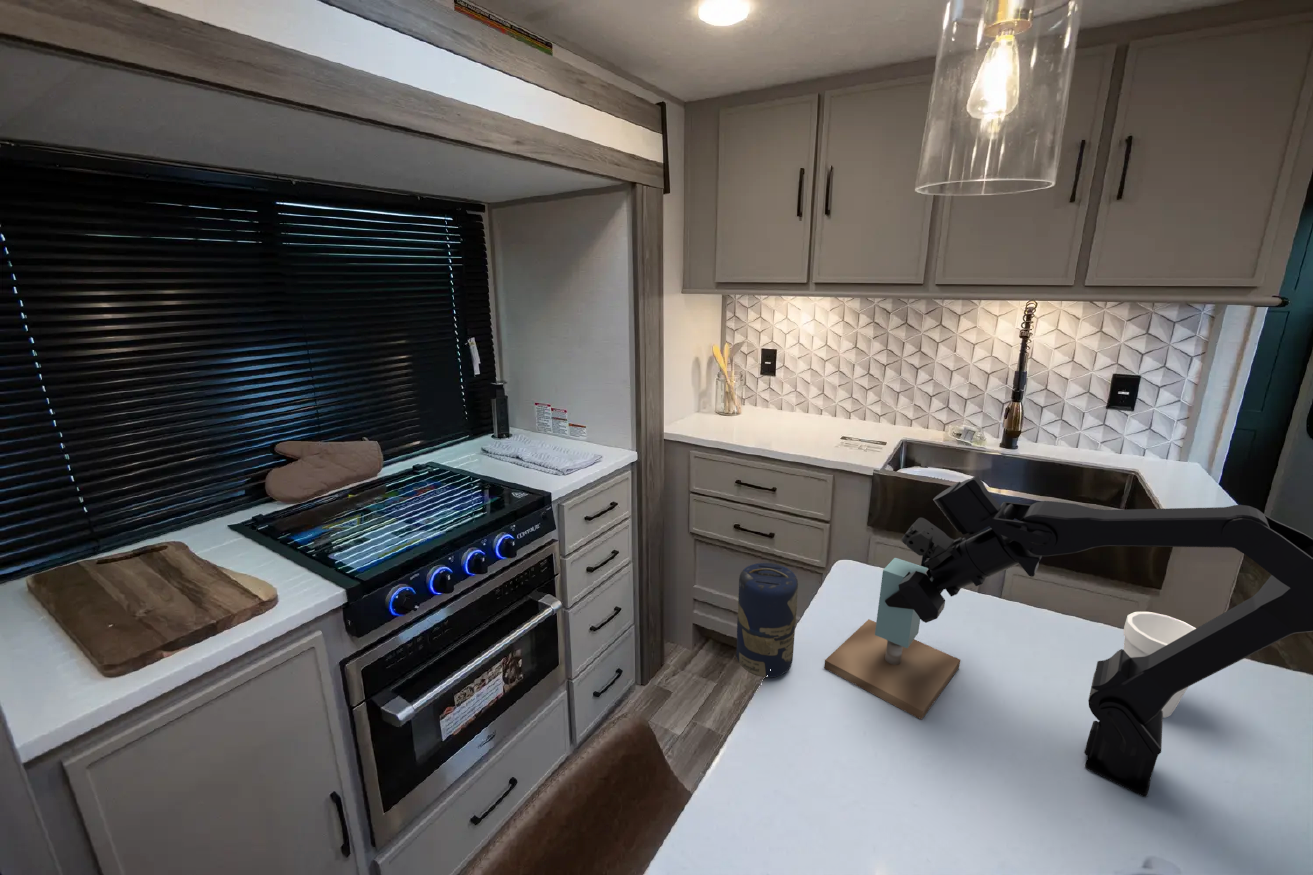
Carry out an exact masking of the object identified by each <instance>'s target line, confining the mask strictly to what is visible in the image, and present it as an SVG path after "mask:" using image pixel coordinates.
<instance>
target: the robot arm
mask: <svg viewBox="0 0 1313 875" xmlns="http://www.w3.org/2000/svg"><path fill="white" fill-rule="evenodd" d="M932 500H933V501H934V503H935V504H936V505H937V507H938V508H939V509H940V511H941V512H942V513H943V515H944V516H945V517H946V518H947V520H948V521H949V522H950V524H951V525H952V527H953V528H954V529H955V530H956V531H957V532H958V533H961V534H962V536H963V535H967V534H968V536H969V535H970V536H971V535H974V534H976V533H978V534H976V535H974V536H971V537H970V538H967V539H966V537H963V538H962V537H957V538H956V539H954V538H951V537H950V536H949V535H947V534H946V533H945V532H944V531H943V530H941V528H939V527H937V526H936V525H934V524H933V523H932V522H930V521H929V520H928V519H926V518H925V517H918V518H917V519H916V520H915V522H913V523H912V524H911V525H910V527H909V528H908V530H907V531H906V532H905V533H904V535H903V536H902V537H901V541H902V543H903V544H904V545H905V546H906V547H907V548H908V549H909V550H911V551H912V552H914V553H915V554H917V556H919V557H921V564H920V566H923V567H926V568H928V569H927V571H926V572H925V574H924V573H921V572H918V571H915V572H913V573H910V572H908V573H907V575H906V576H905V577H904V578H903V580H902V581H901V582H900V584H899V585H898V586H899V590H898V591H896V592H895V593H894V594H892V595H891V596H890V597H888V598H887V599H886V600H885V603H886V604H887V605H888V606H889V607H896V608H905V609H912V610H914V611H915V612H916V613H917V615H918V616H919V617H920V621H921V622H924V623H926V624H927V623H930V622H931V621H935V620H938V618H939V616H940V615H941V614H942V612H943V610H944V609H945V605H946V599H945V597H943V595H942V593H943V591H944V590H945V591H946V592H947V593H948V595H949V596H950V597H954V596H957V595H958V594H959V593H960V591H961V589H963V588H965V587H967V586H970V585H972V584H973V585H974V586H975V587H979V586H980V585H982V584H984V582H985V580H986V579H987V578H990V577H992V576H994V575H996V574H999V573H1001V572H1004V571H1006V570H1008V569H1010V568H1013V567H1015V566H1017V565H1020V567H1021V568H1022V570H1023V571H1024V572H1025V573H1026V574H1027V575H1028V577H1030V578H1031V577H1032V578H1033V577H1034V576H1035V575H1036V573H1037V571H1038V569H1039V566H1040V565H1039V564H1040V563H1039V562H1040V561H1041V559H1042V558H1043V557H1054V556H1063V555H1064V556H1065V555H1071V554H1076V553H1077V554H1078V553H1081V552H1084V551H1085V552H1086V551H1088V550H1090V549H1095V548H1096V549H1097V548H1102V547H1103V548H1104V547H1150V548H1153V547H1157V548H1158V547H1159V548H1160V547H1163V548H1167V547H1171V548H1232V549H1235V550H1237V551H1239V552H1240V553H1242V555H1243V554H1244V556H1247V557H1248V558H1250V559H1251V561H1253V562H1254V563H1256V564H1257V565H1259V567H1261V568H1262V569H1263V570H1265V571H1266V572H1267V573H1268V574H1270V576H1269V577H1268V579H1267V580H1266V581H1265V582H1264V584H1263V585H1262V586H1261V587H1260V589H1259V590H1258V591H1257V592H1256V593H1255V594H1254V595H1252V596H1251V597H1249V598H1248V599H1246V600H1244V601H1242V602H1240V603H1238V604H1237V605H1235V606H1234V607H1232V608H1230V609H1228V610H1226V611H1225V612H1223V613H1221V614H1219V615H1218V616H1216V617H1214V618H1213V619H1211V620H1209V621H1206V622H1205V623H1203V624H1202V625H1200V626H1198V627H1197V628H1196V627H1195V628H1196V629H1194V630H1193V631H1191V632H1189V633H1187V634H1186V635H1184V636H1182V637H1180V638H1178V639H1177V640H1175V641H1173V642H1171V643H1170V644H1168V645H1166V646H1164V647H1163V648H1161V649H1159V650H1157V651H1155V652H1154V653H1152V654H1150V655H1148V656H1145V657H1132V658H1130V657H1129V655H1128V654H1127V653H1126V652H1125V651H1124V650H1123V649H1124V648H1121V649H1118V650H1117V651H1116V652H1115V653H1114V654H1113V655H1112V656H1110V657H1109V658H1106V659H1104V660H1097V661H1096V662H1097V663H1096V667H1095V671H1094V673H1093V677H1092V682H1091V686H1090V691H1089V696H1088V699H1087V700H1088V708H1089V710H1090V712H1091V714H1092V715H1093V716H1094V717H1095V718H1096V719H1097V720H1093V722H1092V725H1091V727H1090V730H1089V734H1088V736H1087V741H1086V743H1085V744H1086V745H1085V749H1084V752H1083V753H1084V755H1085V756H1087V757H1086V760H1085V765H1084V768H1086V769H1087V770H1088V771H1091V772H1093V773H1094V774H1097V775H1098V776H1101V777H1103V778H1105V779H1107V780H1109V781H1112V782H1113V783H1115V784H1117V785H1119V786H1120V787H1123V788H1125V789H1127V790H1129V791H1131V792H1132V793H1135V794H1137V795H1139V796H1141V797H1144V798H1147V797H1148V795H1149V789H1150V785H1151V779H1152V775H1153V772H1154V768H1155V766H1156V762H1157V760H1158V757H1159V755H1160V754H1161V753H1162V749H1163V748H1162V745H1163V740H1162V739H1163V719H1164V717H1163V711H1162V709H1163V707H1164V706H1165V705H1166V704H1167V702H1168V701H1169V700H1170V699H1171V697H1172V696H1173V695H1174V694H1175V693H1177V692H1179V691H1181V690H1183V689H1185V688H1187V687H1188V688H1189V687H1190V686H1193V685H1194V684H1197V683H1199V682H1200V681H1202V680H1204V679H1206V678H1208V677H1211V676H1213V675H1214V674H1217V673H1218V672H1220V671H1222V670H1224V669H1226V668H1228V667H1230V666H1232V665H1234V664H1236V663H1238V662H1241V661H1242V660H1244V659H1246V658H1248V657H1250V656H1252V655H1254V654H1256V653H1258V652H1260V651H1262V650H1264V649H1266V648H1268V647H1270V646H1272V645H1274V644H1276V643H1278V642H1279V641H1282V640H1283V639H1285V638H1287V637H1289V636H1293V635H1295V634H1300V633H1301V634H1302V633H1312V632H1313V537H1311V536H1310V535H1308V534H1306V533H1304V532H1302V531H1300V530H1298V529H1296V528H1294V527H1291V526H1288V525H1287V524H1285V523H1282V522H1280V521H1278V520H1276V519H1273V518H1272V517H1270V516H1269V515H1266V514H1264V512H1262V511H1261V510H1260V509H1258V508H1255V507H1253V506H1250V505H1244V504H1234V505H1230V506H1223V507H1222V506H1220V507H1185V508H1184V507H1182V508H1181V507H1180V508H1177V507H1176V508H1134V509H1101V508H1100V509H1099V508H1093V507H1087V506H1084V505H1081V504H1076V503H1071V502H1061V501H1051V500H1041V501H1037V502H1034V503H1032V504H1031V503H1028V504H1027V503H1023V502H1022V503H1019V502H1012V501H1003V502H1002V503H1001V504H1000V503H998V502H997V500H996V499H995V498H994V497H993V495H992V494H991V493H990V492H989V490H988V489H987V488H986V486H985V484H984V482H983V481H982V480H981V478H980V477H979V476H977V475H975V476H973V477H971V478H968V479H965V480H964V481H958V482H955V483H954V484H953V485H951V486H949V487H948V488H946V489H945V490H943V491H941V492H940V493H938V494H937V495H936V496H935V497H934V498H933V499H932ZM988 527H990V528H989V529H987V530H985V529H986V528H988ZM982 530H984V531H982ZM981 531H982V532H981ZM1188 688H1187V689H1188Z"/></svg>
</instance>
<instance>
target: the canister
mask: <svg viewBox="0 0 1313 875" xmlns="http://www.w3.org/2000/svg"><path fill="white" fill-rule="evenodd" d="M798 591H799V582H798V578H797V576H796V575H795V573H794V572H793V571H792V570H791V569H789V568H788V567H786V566H784V565H781V564H779V563H778V564H777V563H772V562H758V563H754V564H750V565H748V566H746V567H745V568H744V569H743V570H741V572H740V574H739V577H738V598H737V599H738V600H737V601H738V602H737V603H738V604H737V618H736V619H737V620H736V623H737V624H736V651H735V652H736V659H737V661H738V663H739V665H740V666H741V668H742V669H744V670H745V671H746V672H748V673H750V674H752V675H753V676H757V677H761V678H775V677H779V676H781V675H784V674H785V673H787V671H789V670H790V669H791V667H792V665H793V660H794V649H795V648H794V647H795V634H796V633H795V632H796V624H797V609H798V594H799V592H798ZM770 669H771V671H770ZM767 675H768V677H766V676H767Z"/></svg>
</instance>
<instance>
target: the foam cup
mask: <svg viewBox="0 0 1313 875" xmlns="http://www.w3.org/2000/svg"><path fill="white" fill-rule="evenodd" d="M1194 629H1196V627H1195V626H1192V625H1191V624H1189V623H1187V622H1185V621H1183V620H1180V619H1178V618H1175V617H1173V616H1169V615H1166V614H1162V613H1161V614H1160V613H1158V612H1151V611H1134V612H1132V613H1130V614H1129V613H1128V614H1127V617H1126V619H1125V623H1124V627H1123V636H1124V640H1123V648H1122V649H1123V650H1124V651H1125V652H1126V653H1127V654H1128V655H1129V657H1130V658H1132V657H1145V656H1148V655H1150V654H1152V653H1154V652H1155V651H1157V650H1159V649H1161V648H1163V647H1164V646H1166V645H1168V644H1170V643H1171V642H1173V641H1175V640H1177V639H1178V638H1180V637H1182V636H1184V635H1186V634H1187V633H1189V632H1191V631H1193V630H1194ZM1188 688H1189V687H1187V688H1185V689H1183V690H1181V691H1179V692H1177V693H1175V694H1174V695H1173V696H1172V697H1171V699H1170V700H1169V701H1168V702H1167V704H1166V705H1165V706H1164V707H1163V709H1162V711H1163V718H1168V717H1170V716H1172V714H1173V713H1174V711H1175V710H1176V708H1177V706H1178V705H1179V703H1180V702H1181V700H1182V698H1183V696H1184V695H1185V693H1186V691H1187V690H1188Z"/></svg>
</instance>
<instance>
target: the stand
mask: <svg viewBox="0 0 1313 875" xmlns="http://www.w3.org/2000/svg"><path fill="white" fill-rule="evenodd" d="M875 629H876V621H873V620H872V619H869V618H868V619H867V620H866V621H865V622H863V623H862V625H860V626H859V628H858V629H857V630H855V632H853V633H852V634H851V635H850V636H849V637H848V638H847V639H845V641H844V642H843V643H842V644H840V645H839V646H838V647H837V648H836V649H834V651H833V652H832V653H831V654H830V655H829V656H828V657H827V658H826V659H824V664H823V665H824V667H823V668H824V669H825V670H826V671H829V672H831V673H832V674H834V675H835V676H838V677H840V678H842V679H844V680H846V681H847V682H849V683H851V684H853V685H855V686H857V687H858V688H860V689H863V690H865V691H866V692H868V693H870V694H871V695H873V696H876V697H877V698H879V699H882V700H883V701H885V702H887V703H889V704H890V705H892V706H895V707H896V708H898V709H900V710H902V711H904V712H906V713H907V714H909V715H912V716H913V717H915V718H917V719H919V720H921V721H923V719H924V718H925V716H926V715H927V714H928V712H929V710H930V709H931V708H932V706H933V705H934V704H935V702H936V700H937V699H938V698H939V696H940V695H941V694H942V692H943V691H944V689H945V688H946V687H947V686H948V684H949V683H950V681H951V680H952V678H953V677H954V676H955V675H956V673H957V672H958V670H959V669H960V666H961V659H960V658H957V657H955V656H952V655H951V654H949V653H947V652H944V651H942V650H940V649H937V648H935V647H933V646H931V645H928V644H926V643H923V642H922V641H919V640H916V639H915V638H914V640H913V641H912V643H911V644H910V646H909V647H908V648H905V647H903V646H900V645H898V644H895V643H893V642H891V641H888V640H886V639H883V638H881V637H878V636H876V635H875Z"/></svg>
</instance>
